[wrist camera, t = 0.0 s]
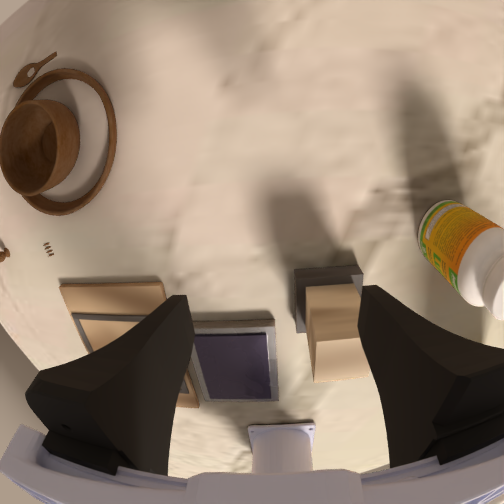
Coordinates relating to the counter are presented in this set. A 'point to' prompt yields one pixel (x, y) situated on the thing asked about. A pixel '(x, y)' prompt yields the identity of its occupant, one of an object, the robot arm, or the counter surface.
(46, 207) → the place setting
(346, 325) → the stamp
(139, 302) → the marked board
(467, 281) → the supplement bottle
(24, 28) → the counter surface
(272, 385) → the ink pad
